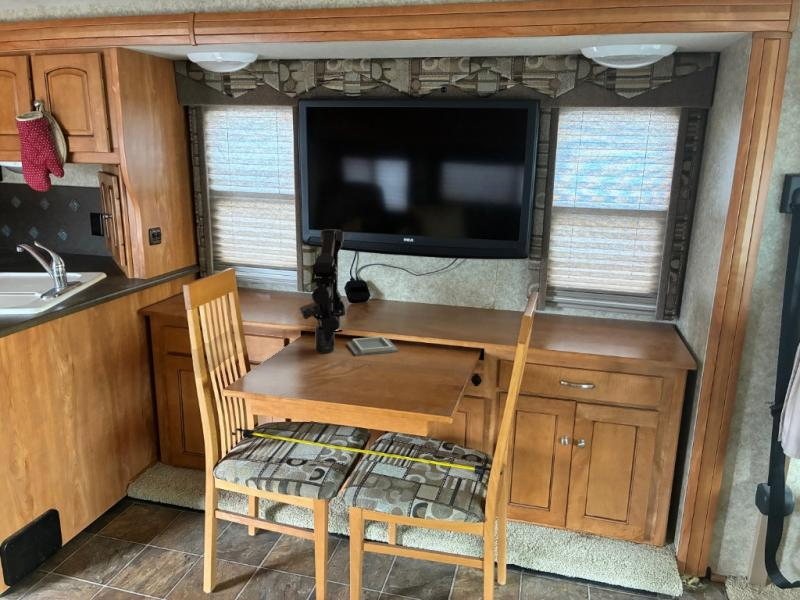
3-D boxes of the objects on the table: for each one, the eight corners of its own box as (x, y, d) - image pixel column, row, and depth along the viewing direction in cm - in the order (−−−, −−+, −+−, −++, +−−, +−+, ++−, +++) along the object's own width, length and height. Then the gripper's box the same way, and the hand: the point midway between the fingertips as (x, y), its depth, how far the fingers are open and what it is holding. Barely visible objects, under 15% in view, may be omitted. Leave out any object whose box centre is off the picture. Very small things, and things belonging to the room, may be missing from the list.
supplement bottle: (313, 348, 220) (313, 316, 216) (331, 346, 222) (331, 314, 219) (317, 354, 213) (317, 322, 210) (336, 352, 216) (336, 320, 212)
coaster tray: (346, 344, 224) (346, 339, 224) (387, 340, 229) (387, 335, 229) (355, 355, 213) (355, 350, 213) (398, 351, 219) (398, 346, 218)
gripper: (296, 290, 218) (297, 332, 222) (306, 305, 201) (307, 349, 205) (327, 288, 222) (327, 329, 226) (339, 302, 205) (339, 346, 209)
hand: (324, 338), depth 216 cm, fingers open, 8 cm apart
